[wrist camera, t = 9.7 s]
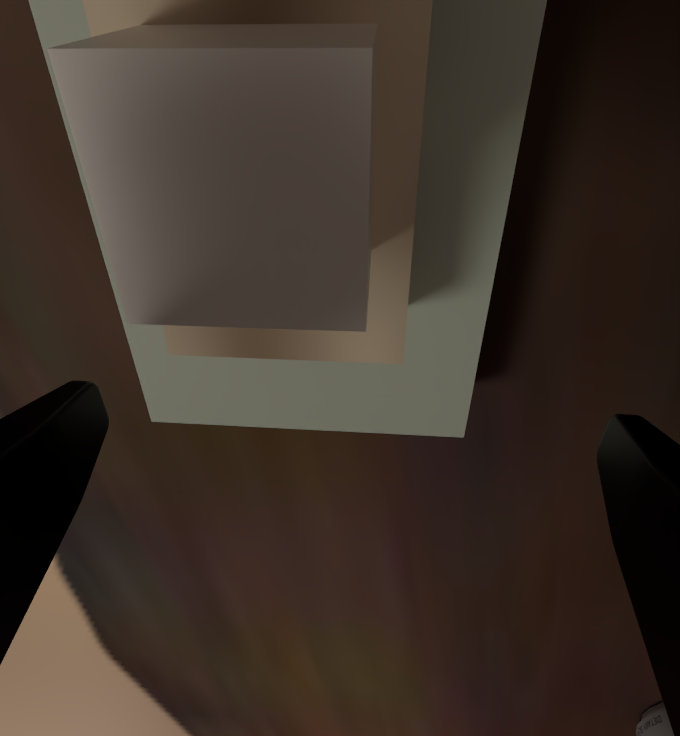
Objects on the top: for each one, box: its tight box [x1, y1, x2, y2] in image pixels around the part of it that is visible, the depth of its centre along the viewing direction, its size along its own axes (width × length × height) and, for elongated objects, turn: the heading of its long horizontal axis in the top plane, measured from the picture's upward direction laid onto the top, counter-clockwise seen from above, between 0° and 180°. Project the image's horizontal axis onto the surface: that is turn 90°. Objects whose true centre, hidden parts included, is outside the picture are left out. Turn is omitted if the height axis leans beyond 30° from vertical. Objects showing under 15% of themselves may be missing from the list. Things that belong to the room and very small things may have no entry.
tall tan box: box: [82, 0, 433, 364], centre depth 13 cm, size 6×11×3 cm, turn 0°
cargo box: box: [47, 23, 378, 332], centre depth 10 cm, size 4×4×4 cm
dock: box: [29, 0, 547, 437], centre depth 15 cm, size 12×22×3 cm, turn 0°
